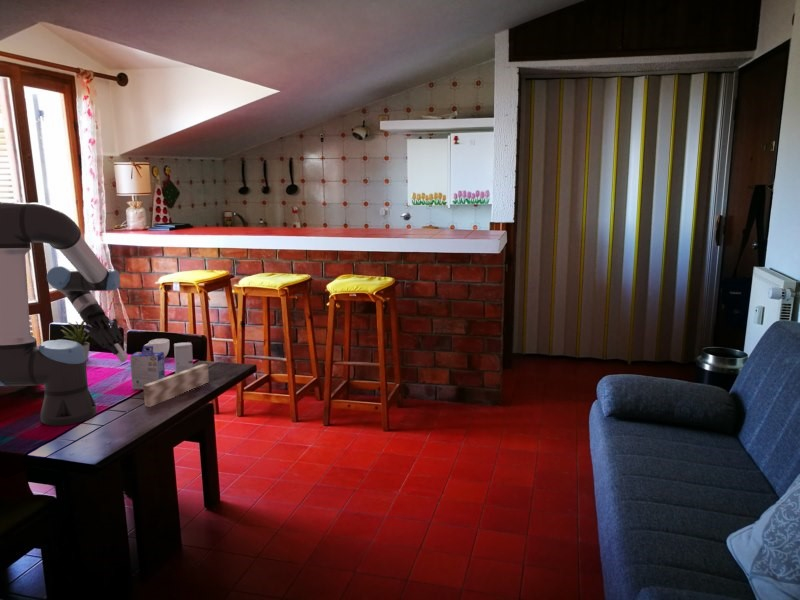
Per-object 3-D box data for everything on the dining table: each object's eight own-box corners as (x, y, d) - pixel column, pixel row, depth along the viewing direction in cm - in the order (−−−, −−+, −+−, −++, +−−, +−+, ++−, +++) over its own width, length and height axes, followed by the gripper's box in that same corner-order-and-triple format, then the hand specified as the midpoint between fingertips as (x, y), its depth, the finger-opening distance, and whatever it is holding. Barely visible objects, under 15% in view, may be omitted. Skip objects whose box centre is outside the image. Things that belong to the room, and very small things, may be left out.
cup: (170, 358, 246) (169, 342, 244) (143, 361, 242) (142, 344, 241) (170, 353, 253) (169, 337, 251) (144, 356, 249) (142, 340, 248)
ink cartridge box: (166, 384, 216) (164, 345, 213) (160, 390, 210) (157, 349, 207) (139, 384, 216) (135, 344, 213) (132, 389, 210) (128, 349, 207)
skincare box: (176, 378, 222) (174, 346, 220) (175, 374, 226) (173, 343, 224) (194, 376, 225) (192, 344, 222) (192, 372, 229) (190, 341, 226)
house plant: (98, 351, 254) (94, 313, 251) (107, 359, 244) (104, 319, 241) (60, 357, 245) (56, 318, 242) (68, 366, 235) (63, 325, 232)
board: (149, 407, 195) (147, 386, 193) (144, 405, 196) (143, 385, 194) (208, 383, 217) (207, 364, 216) (204, 382, 218) (203, 363, 217)
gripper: (100, 312, 229) (135, 361, 225) (68, 319, 218) (104, 371, 214) (109, 299, 226) (144, 349, 222) (76, 306, 214) (113, 358, 210)
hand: (124, 359), depth 218 cm, fingers closed
